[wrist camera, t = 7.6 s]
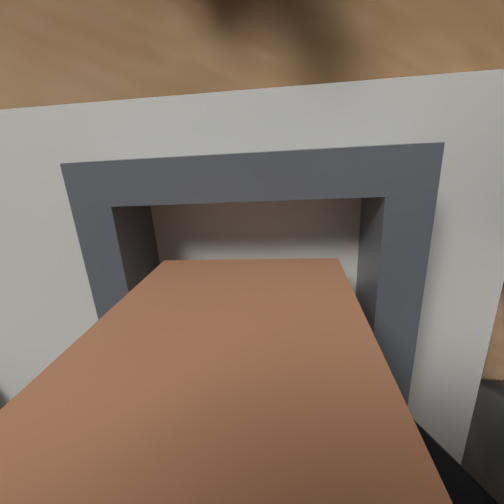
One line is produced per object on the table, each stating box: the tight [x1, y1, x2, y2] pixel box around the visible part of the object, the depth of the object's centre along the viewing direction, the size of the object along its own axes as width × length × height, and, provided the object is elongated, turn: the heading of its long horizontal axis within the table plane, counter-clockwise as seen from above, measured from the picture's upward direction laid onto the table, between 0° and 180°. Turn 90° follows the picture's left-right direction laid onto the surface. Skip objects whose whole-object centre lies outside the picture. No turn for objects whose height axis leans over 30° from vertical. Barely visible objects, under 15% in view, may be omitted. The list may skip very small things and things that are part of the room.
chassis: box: [0, 69, 504, 504], centre depth 9 cm, size 13×21×4 cm, turn 93°
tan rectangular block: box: [0, 258, 453, 504], centre depth 6 cm, size 5×4×6 cm
